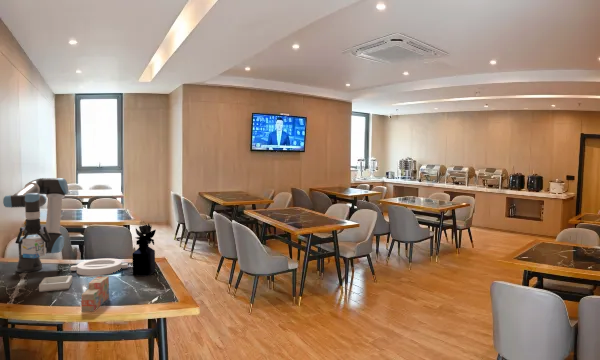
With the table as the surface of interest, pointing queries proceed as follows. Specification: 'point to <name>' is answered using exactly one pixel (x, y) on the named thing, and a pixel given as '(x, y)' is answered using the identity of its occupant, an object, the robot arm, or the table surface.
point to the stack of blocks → (95, 294)
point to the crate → (55, 283)
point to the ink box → (33, 247)
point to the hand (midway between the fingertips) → (34, 253)
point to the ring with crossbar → (99, 266)
